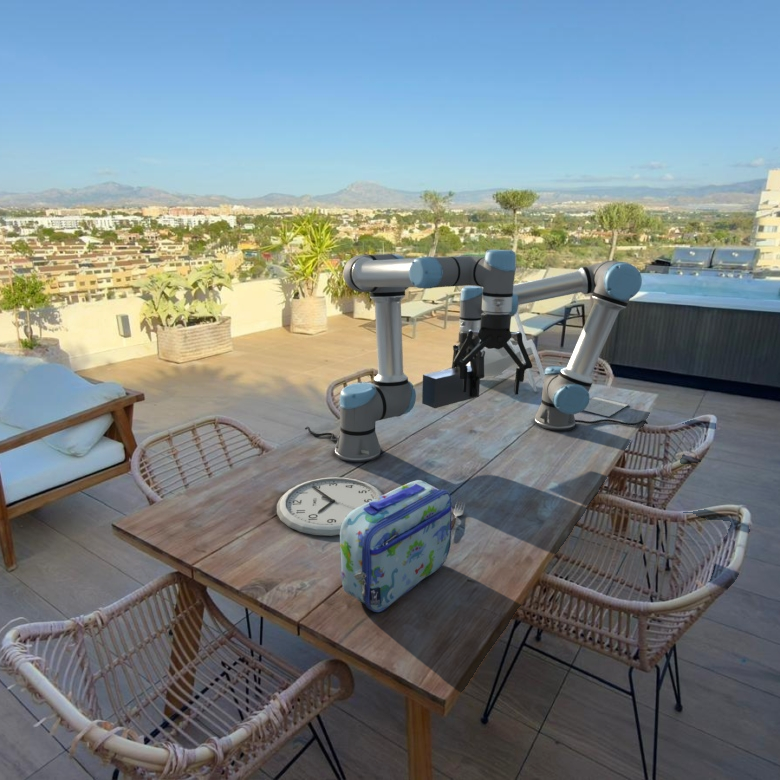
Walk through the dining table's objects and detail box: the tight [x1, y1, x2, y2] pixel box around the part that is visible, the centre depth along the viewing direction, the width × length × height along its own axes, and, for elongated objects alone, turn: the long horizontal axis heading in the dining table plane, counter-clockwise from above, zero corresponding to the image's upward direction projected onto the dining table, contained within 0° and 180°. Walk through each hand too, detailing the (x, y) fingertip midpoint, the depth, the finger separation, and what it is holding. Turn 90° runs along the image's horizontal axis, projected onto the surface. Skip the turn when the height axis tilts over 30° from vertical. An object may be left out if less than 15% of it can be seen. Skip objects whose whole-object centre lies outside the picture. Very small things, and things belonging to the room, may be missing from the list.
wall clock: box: [276, 476, 385, 537], centre depth 142 cm, size 30×2×30 cm
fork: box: [451, 500, 466, 531], centre depth 135 cm, size 3×16×2 cm, turn 160°
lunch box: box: [339, 479, 452, 613], centre depth 109 cm, size 26×11×21 cm, turn 134°
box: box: [421, 365, 481, 409], centre depth 184 cm, size 22×7×10 cm, turn 127°
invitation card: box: [583, 396, 629, 418], centre depth 226 cm, size 21×1×15 cm
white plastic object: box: [467, 311, 545, 392], centre depth 256 cm, size 37×45×31 cm
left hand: (490, 391), depth 140 cm, fingers open, 13 cm apart
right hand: (466, 393), depth 190 cm, fingers closed on box, 7 cm apart
